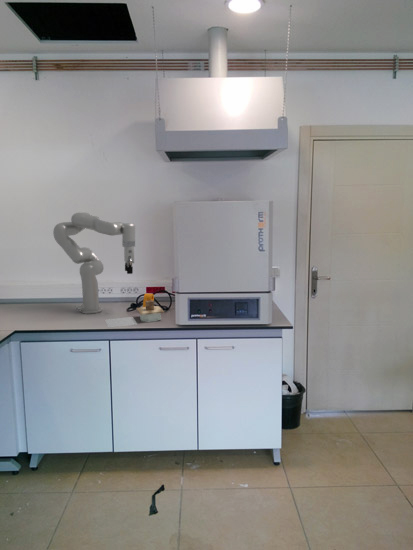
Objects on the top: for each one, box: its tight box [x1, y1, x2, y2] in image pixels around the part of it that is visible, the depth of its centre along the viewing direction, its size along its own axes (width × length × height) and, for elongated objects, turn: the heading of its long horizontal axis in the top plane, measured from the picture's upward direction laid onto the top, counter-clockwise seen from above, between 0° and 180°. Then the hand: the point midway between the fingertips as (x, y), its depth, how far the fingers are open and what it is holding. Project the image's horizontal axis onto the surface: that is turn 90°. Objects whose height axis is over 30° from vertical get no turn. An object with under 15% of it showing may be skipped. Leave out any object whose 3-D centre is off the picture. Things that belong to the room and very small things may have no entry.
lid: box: [135, 300, 165, 316], centre depth 222 cm, size 14×14×6 cm
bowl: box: [139, 313, 162, 323], centre depth 223 cm, size 11×11×6 cm
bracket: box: [142, 292, 155, 307], centre depth 239 cm, size 11×7×12 cm, turn 166°
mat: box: [104, 316, 138, 328], centre depth 218 cm, size 16×16×1 cm
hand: (128, 272), depth 232 cm, fingers open, 9 cm apart
